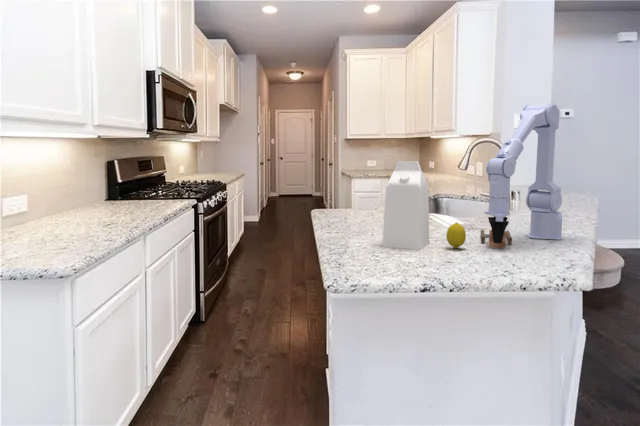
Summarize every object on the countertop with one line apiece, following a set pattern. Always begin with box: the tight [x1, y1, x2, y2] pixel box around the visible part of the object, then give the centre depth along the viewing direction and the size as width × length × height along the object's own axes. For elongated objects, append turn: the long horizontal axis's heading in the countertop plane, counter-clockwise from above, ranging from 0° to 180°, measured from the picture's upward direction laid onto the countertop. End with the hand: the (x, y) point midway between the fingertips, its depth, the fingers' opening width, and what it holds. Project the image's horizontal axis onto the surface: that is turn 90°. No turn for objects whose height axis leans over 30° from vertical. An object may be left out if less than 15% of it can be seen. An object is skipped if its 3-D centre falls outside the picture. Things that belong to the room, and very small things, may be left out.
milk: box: [381, 160, 430, 251], centre depth 149 cm, size 12×12×26 cm
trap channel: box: [480, 229, 513, 246], centre depth 159 cm, size 9×16×2 cm, turn 163°
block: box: [488, 229, 507, 249], centre depth 148 cm, size 4×4×4 cm
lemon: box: [446, 222, 467, 250], centre depth 144 cm, size 6×6×8 cm
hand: (497, 241), depth 148 cm, fingers closed on block, 4 cm apart
